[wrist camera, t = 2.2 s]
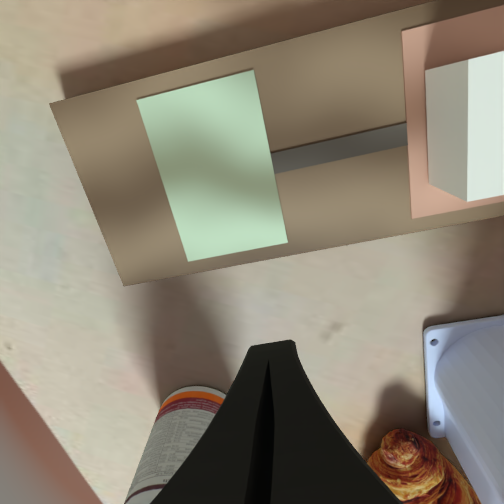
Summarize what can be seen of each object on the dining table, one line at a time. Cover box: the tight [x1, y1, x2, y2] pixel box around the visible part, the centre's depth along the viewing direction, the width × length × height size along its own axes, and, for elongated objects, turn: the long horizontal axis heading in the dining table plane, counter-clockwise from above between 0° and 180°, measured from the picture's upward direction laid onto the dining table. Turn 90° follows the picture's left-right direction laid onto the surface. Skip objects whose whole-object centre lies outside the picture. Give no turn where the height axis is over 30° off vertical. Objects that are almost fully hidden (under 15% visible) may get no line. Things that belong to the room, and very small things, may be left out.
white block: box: [425, 51, 504, 202], centre depth 14 cm, size 5×4×4 cm
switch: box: [49, 0, 504, 286], centre depth 17 cm, size 10×22×2 cm, turn 103°
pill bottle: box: [124, 386, 226, 504], centre depth 20 cm, size 6×6×11 cm
